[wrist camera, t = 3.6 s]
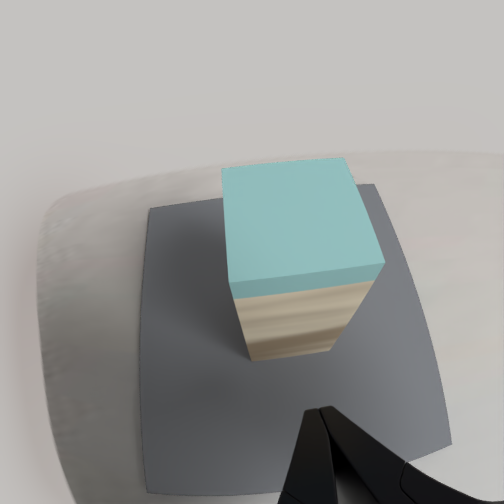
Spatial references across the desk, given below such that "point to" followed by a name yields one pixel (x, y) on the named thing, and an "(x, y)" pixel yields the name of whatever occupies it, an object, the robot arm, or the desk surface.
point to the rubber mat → (269, 365)
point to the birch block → (296, 253)
